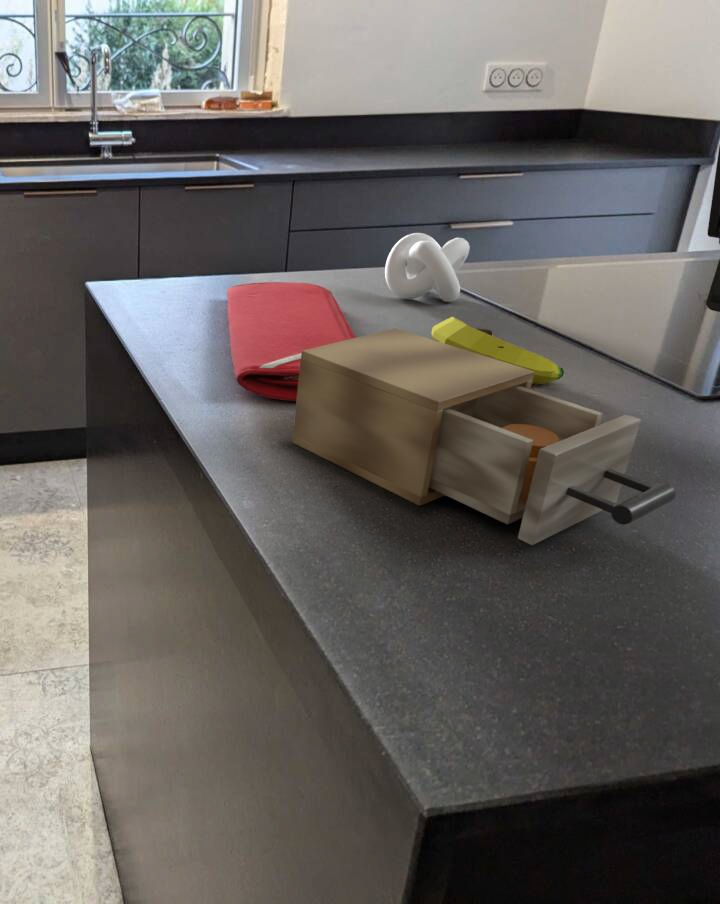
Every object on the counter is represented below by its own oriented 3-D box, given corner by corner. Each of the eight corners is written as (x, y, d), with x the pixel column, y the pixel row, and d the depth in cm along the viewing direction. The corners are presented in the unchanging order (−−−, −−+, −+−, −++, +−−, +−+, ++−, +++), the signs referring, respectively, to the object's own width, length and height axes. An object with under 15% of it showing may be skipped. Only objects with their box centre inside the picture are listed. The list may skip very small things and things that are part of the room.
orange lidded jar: (507, 463, 69) (518, 415, 67) (569, 489, 65) (582, 438, 63) (467, 479, 66) (477, 430, 64) (529, 507, 62) (542, 455, 60)
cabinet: (512, 468, 73) (535, 371, 69) (419, 506, 66) (438, 401, 63) (382, 414, 84) (395, 328, 80) (291, 442, 77) (301, 350, 74)
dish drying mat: (332, 302, 122) (335, 277, 120) (384, 408, 85) (389, 374, 84) (225, 299, 123) (227, 274, 122) (231, 401, 87) (233, 368, 85)
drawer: (679, 529, 62) (710, 441, 58) (596, 576, 56) (624, 481, 53) (468, 443, 75) (483, 368, 72) (384, 474, 70) (397, 394, 66)
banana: (547, 357, 87) (607, 352, 96) (409, 310, 99) (474, 309, 108) (532, 398, 89) (592, 388, 98) (398, 347, 100) (463, 343, 110)
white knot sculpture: (419, 283, 133) (428, 226, 129) (485, 299, 124) (497, 239, 120) (372, 293, 127) (380, 234, 124) (438, 310, 118) (449, 248, 115)
